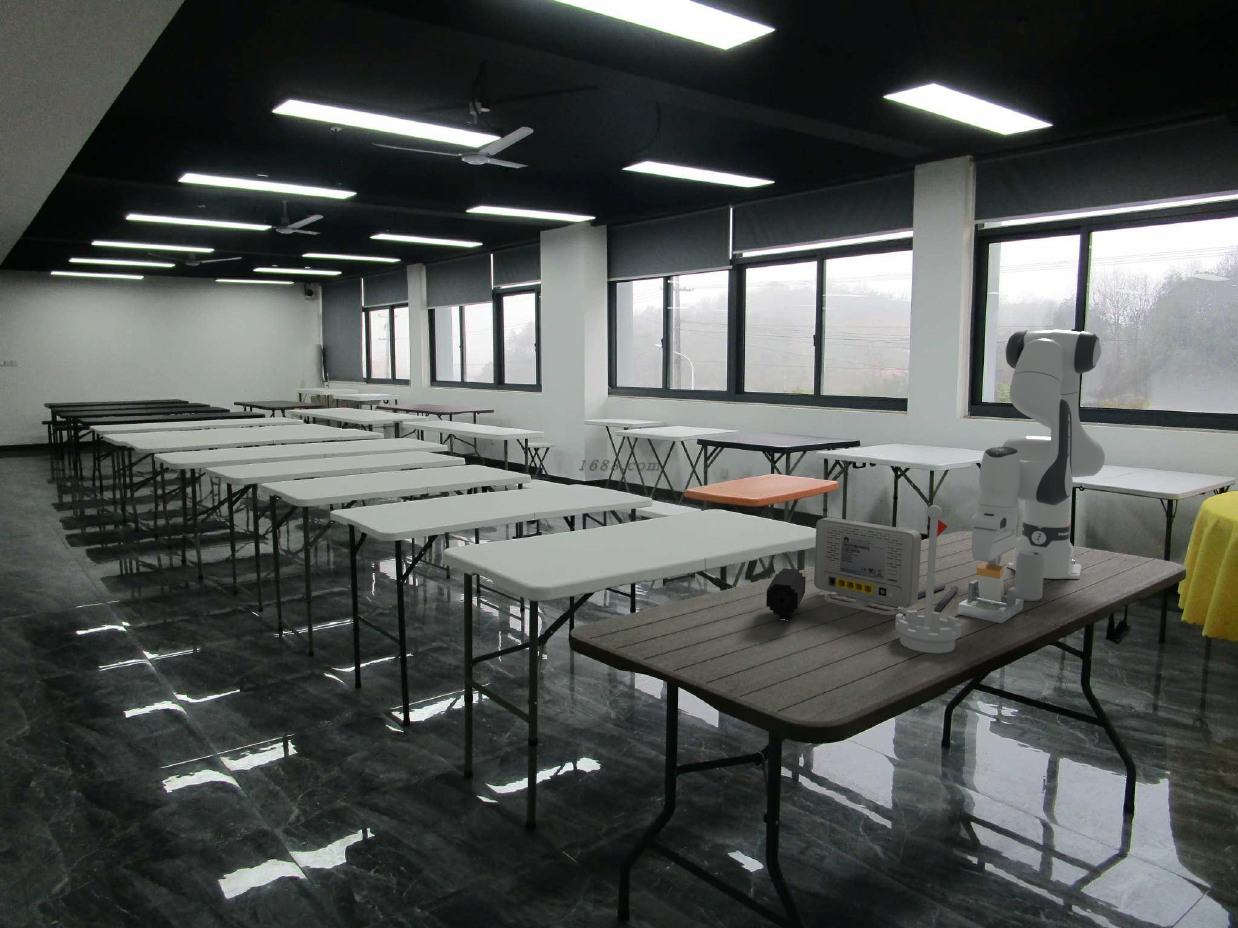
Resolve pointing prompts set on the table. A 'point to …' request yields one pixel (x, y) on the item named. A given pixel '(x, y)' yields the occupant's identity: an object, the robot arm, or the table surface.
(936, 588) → the cord
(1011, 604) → the breaker panel
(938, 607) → the dark grey rod
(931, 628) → the flag stand
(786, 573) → the security camera
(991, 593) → the breaker lever
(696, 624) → the table surface
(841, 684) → the table surface
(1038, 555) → the beverage can
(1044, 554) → the robot arm
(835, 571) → the network device
